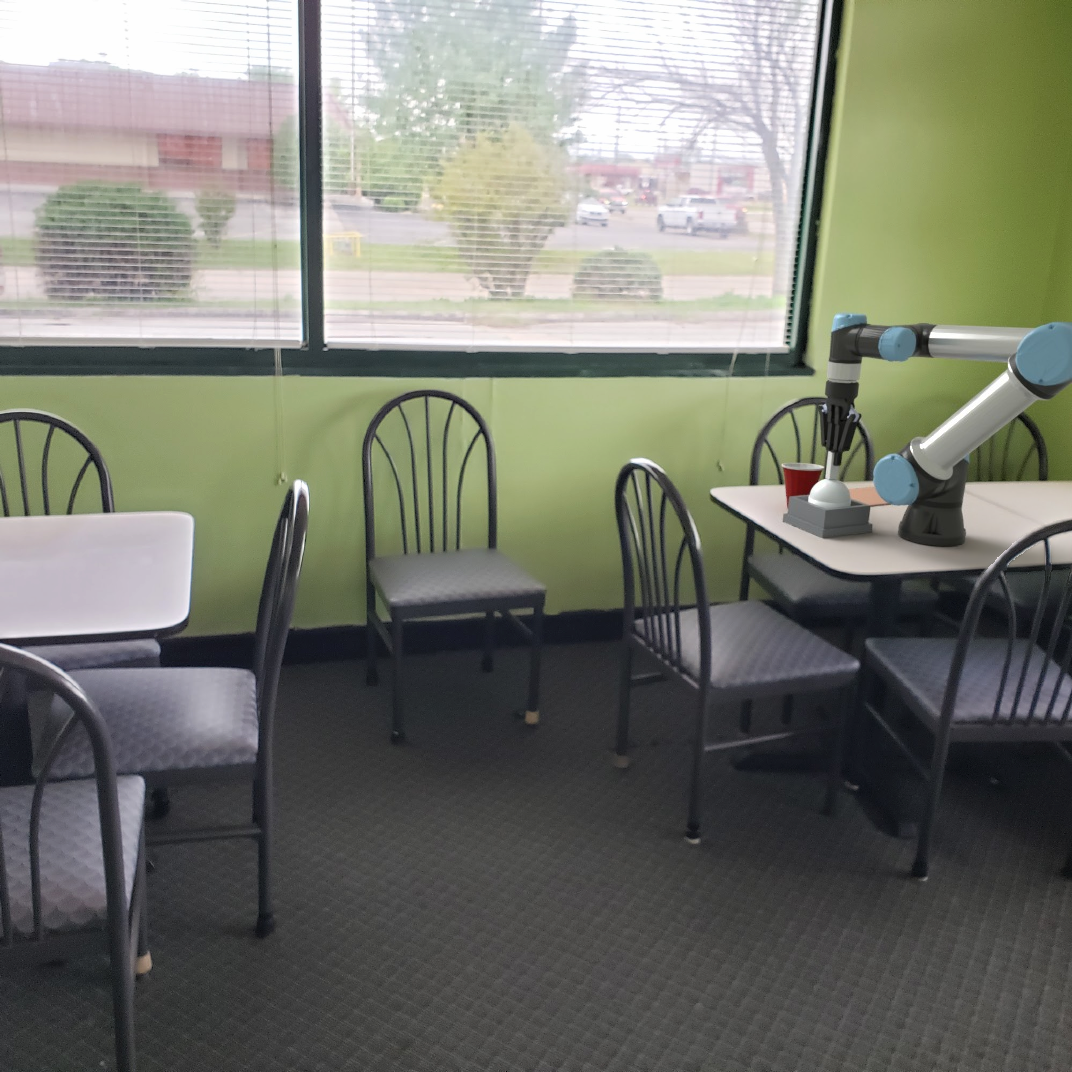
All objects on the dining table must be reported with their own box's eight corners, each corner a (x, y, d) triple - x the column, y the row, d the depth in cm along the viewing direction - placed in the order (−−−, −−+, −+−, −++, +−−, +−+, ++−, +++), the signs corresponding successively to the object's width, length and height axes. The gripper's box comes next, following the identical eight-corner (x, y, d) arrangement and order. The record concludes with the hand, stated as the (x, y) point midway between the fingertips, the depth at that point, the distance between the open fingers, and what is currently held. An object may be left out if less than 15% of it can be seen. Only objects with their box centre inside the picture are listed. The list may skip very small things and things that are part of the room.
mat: (915, 501, 277) (915, 500, 277) (869, 506, 271) (869, 505, 271) (874, 487, 291) (874, 486, 291) (829, 492, 285) (829, 490, 285)
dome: (857, 520, 248) (862, 482, 245) (824, 524, 244) (829, 485, 241) (830, 510, 256) (834, 472, 254) (798, 513, 252) (802, 475, 250)
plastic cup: (816, 504, 271) (821, 460, 268) (823, 515, 261) (828, 469, 257) (774, 502, 272) (778, 458, 269) (779, 513, 262) (784, 467, 258)
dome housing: (871, 531, 247) (874, 506, 245) (822, 537, 241) (825, 511, 239) (830, 516, 260) (833, 491, 258) (782, 521, 254) (785, 496, 252)
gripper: (874, 383, 236) (862, 483, 243) (837, 376, 248) (826, 471, 255) (849, 384, 233) (837, 485, 240) (812, 377, 245) (802, 473, 252)
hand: (831, 477), depth 247 cm, fingers closed
